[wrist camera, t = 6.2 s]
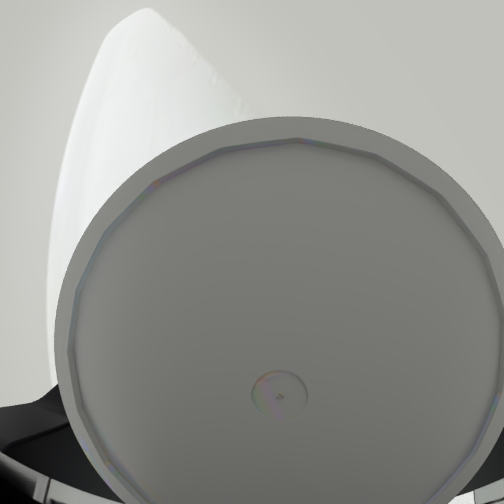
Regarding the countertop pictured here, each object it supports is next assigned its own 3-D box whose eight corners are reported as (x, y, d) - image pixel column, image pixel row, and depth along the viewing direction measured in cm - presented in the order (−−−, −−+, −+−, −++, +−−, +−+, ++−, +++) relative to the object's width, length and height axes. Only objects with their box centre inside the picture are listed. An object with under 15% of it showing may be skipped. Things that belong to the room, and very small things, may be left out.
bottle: (247, 246, 18) (71, 113, 4) (362, 254, 17) (530, 131, 2) (237, 359, 18) (64, 507, 3) (351, 369, 16) (453, 558, 2)
